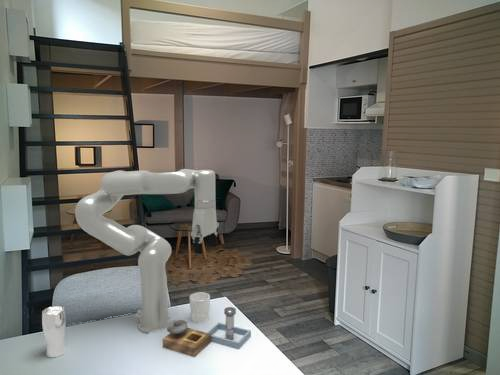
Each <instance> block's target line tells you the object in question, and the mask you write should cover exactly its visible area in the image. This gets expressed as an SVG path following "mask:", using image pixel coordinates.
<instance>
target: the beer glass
mask: <svg viewBox="0 0 500 375" xmlns="http://www.w3.org/2000/svg"><path fill="white" fill-rule="evenodd" d="M41 313H42V314H41V324H42V325H41V326H42V331H43V334H44V338H45V342H46V352H45V356H46V357H47V358H52V359H53V358H57V357H61V356H63V355H64V354H66V352H67V347H66V342H65V336H66V334H65V333H66V329H67V328H66V327H67V320H66V319H67V318H66V313H65V307H64V306H62V305H54V306H49V307H46V308H44V310H42V312H41Z"/></svg>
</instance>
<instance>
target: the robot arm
mask: <svg viewBox="0 0 500 375" xmlns="http://www.w3.org/2000/svg"><path fill="white" fill-rule="evenodd" d="M191 189H194V209H193V215H192V226H191V228H192V231H191V232H190V236H191V240H192V243H193V246H194V247H193V248H194V250H193V253H194V254H199V255H202V254H204V253H203V252H204V251H203V249H204V248H203V239H204V238H205V237H207V236H208V247H215V248H216V247H218V246H217V244H218V242H217V237H218V232H219V226H220V223H219V222H218V221H217V220H218V218H217V210H216V209H217V208H216V207H217V206H216V205H217V204H216V197H217V196H216V172H215V171H214V170H212V169H200V170H199V169H198V170H197V169H191V168H190V169H189V168H182V169H179V170H177V171H170V172H169V171H168V172H151V171H149V170H146V169H145V170H143V169H142V170H132V171H130V170H129V171H125V170H115V171H111V172H108V173H106V174H104V175H103V176H102V178H101V179H100V188H99V189H98V190H97V191H96V192H94V193H92V194H88V195H87V196H84V197H82V198H81V199H80V200H79V201H78V202H77V203H76V205H75V210H74V215H75V220H76V222H77V224H78V226H79V227H80V228H81V229H82V230H83V231H84V232H86V233H87V234H89V236H92V237H93V238H95V239H98V240H99V241H101V242H102V243H104V244H106V245H107V246H109V247H110V248H112V249H114V250H115V251H117V252H119V253H121V254H123V255H125V256H133V255H135V254H136V253H137V252H140V254H139V256H138V260H137V265H138V271H139V276H140V277H139V278H140V291H141V292H140V293H141V294H140V295H141V309H138V310H137V312H136V314H135V316H134V317H135V318H137V319H139V323H138V326H137V327H138V331H141V332H142V333H144V334H150V333H151V332H152V333H155V332H156V333H157V332H161V331H164V330H167V324H168V323H169V322H170V321H173V320H172V318H171V317H169V312H168V311H169V309H168V308H169V307H168V306H169V305H168V302H169V301H168V280H167V279H168V277H167V271H166V263H167V262H168V260H169V259H170V257H171V255H172V246H171V244H170V243H169V242H168V240H166V239H165V238H164V237H161V236H160V235H158V234H157V233H155V232H153V231H152V230H150V229H148V228H146V227H145V226H142V225H141V224H132V225H129V226H127V227H126V226H123V225H122V224H120V223H118V222H117V221H115V220H113V219H111V218H108V217H105V216H104V214H106V213H108V212H109V211H111V210H112V209H113V208H114V207H115V205H117V203H118V202H120V200H121V199H122V198H123V197H124V196H127V195H128V196H131V195H172V194H182V193H186V192H188V190H191Z"/></svg>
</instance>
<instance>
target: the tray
mask: <svg viewBox="0 0 500 375" xmlns="http://www.w3.org/2000/svg"><path fill="white" fill-rule="evenodd" d="M219 330H220V331H224V332H225V323H223V322H217V323H215V325H214V326H213V327H211V328H210V329H209V330H207V332H206V333H209V334H211V343H215V344H218V345H221V346H226V347H230V348H233V349H237V350H240V349H241V347H243V345H244V344H246V342H247V341H248V340H249V338H251V337H252V336H251V335H252V330H250V329H246V328H242V327H238V326H235V325H234V334H236V335H241V336H242V337H241V338H240V339H239V340H238V341H236V340H234V339H233V340H229V339H225V337H221V336H217V335H214V334H215V333H217V332H218V331H219Z"/></svg>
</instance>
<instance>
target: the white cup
mask: <svg viewBox="0 0 500 375" xmlns="http://www.w3.org/2000/svg"><path fill="white" fill-rule="evenodd" d="M210 300H211V295H210V293H207V292H202V291H201V292H199V291H198V292H195V293H192V294H189V308H190V316H191V318H190V319H191V321H192V322H194V323H204V322H207V321H208V320H209V318H210V317H209V316H210V306H211V301H210Z"/></svg>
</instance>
